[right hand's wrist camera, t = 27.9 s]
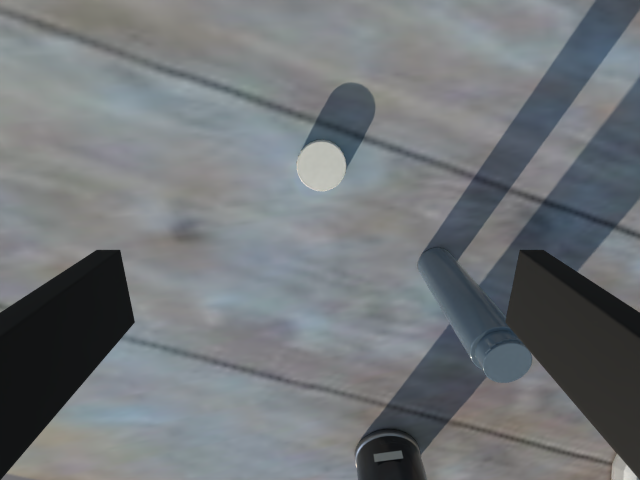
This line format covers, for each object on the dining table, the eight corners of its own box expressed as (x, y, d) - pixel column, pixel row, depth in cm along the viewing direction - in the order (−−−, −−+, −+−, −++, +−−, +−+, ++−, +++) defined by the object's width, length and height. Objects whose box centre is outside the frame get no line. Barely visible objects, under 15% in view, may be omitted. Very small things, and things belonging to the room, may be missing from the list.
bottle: (460, 259, 43) (549, 356, 27) (437, 285, 44) (508, 395, 28) (432, 240, 42) (506, 329, 26) (410, 268, 44) (466, 370, 27)
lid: (290, 177, 40) (288, 181, 38) (307, 131, 38) (306, 132, 37) (334, 195, 41) (335, 199, 39) (353, 150, 39) (354, 152, 37)
